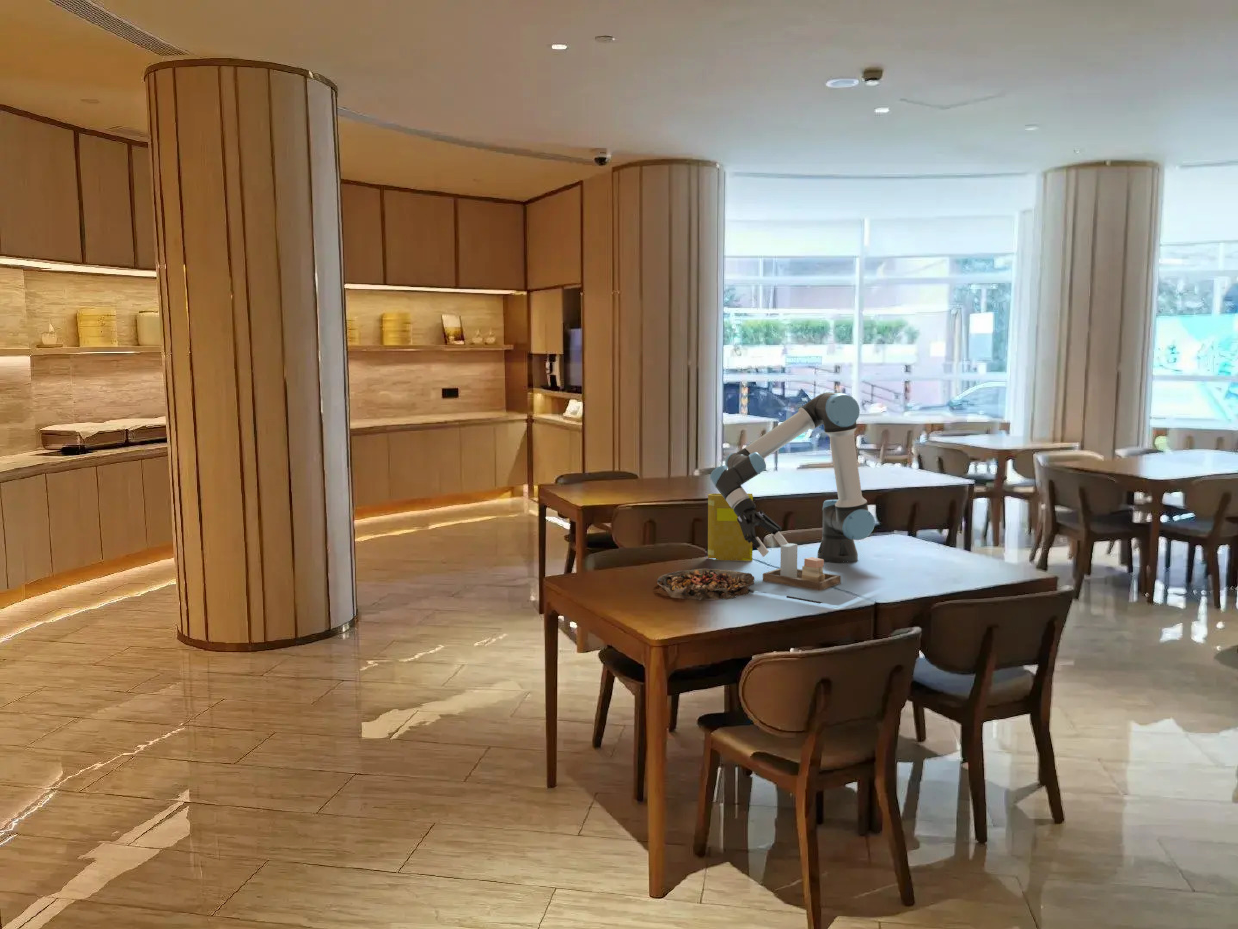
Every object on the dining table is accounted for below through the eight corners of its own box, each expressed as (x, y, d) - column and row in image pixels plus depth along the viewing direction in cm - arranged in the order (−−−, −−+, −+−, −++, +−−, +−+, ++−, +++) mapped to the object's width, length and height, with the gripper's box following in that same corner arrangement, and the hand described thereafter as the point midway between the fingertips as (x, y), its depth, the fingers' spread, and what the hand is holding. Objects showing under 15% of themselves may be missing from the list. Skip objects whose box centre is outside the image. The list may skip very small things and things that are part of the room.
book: (751, 557, 372) (752, 493, 369) (752, 561, 366) (752, 496, 363) (707, 556, 374) (708, 493, 371) (707, 560, 367) (708, 495, 364)
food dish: (697, 610, 300) (696, 586, 299) (637, 591, 327) (636, 569, 326) (780, 591, 319) (779, 568, 318) (717, 574, 346) (716, 553, 346)
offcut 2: (807, 572, 327) (807, 564, 326) (822, 574, 324) (822, 565, 323) (802, 575, 323) (802, 566, 323) (817, 577, 320) (818, 568, 320)
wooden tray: (784, 576, 339) (784, 566, 339) (840, 586, 325) (840, 575, 324) (762, 583, 329) (762, 573, 328) (819, 593, 314) (820, 583, 314)
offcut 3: (809, 580, 327) (809, 572, 327) (824, 583, 324) (824, 574, 323) (801, 583, 324) (801, 574, 323) (817, 586, 320) (817, 577, 319)
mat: (805, 590, 319) (805, 588, 319) (837, 596, 311) (838, 594, 311) (786, 597, 310) (786, 595, 310) (819, 603, 302) (819, 601, 302)
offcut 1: (812, 564, 326) (812, 557, 326) (823, 566, 322) (823, 559, 322) (804, 565, 324) (804, 558, 323) (816, 568, 320) (816, 561, 320)
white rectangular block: (789, 577, 333) (789, 543, 332) (796, 578, 331) (797, 544, 330) (780, 580, 329) (780, 545, 327) (787, 581, 327) (788, 547, 325)
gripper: (754, 506, 350) (789, 552, 342) (714, 514, 332) (749, 563, 323) (767, 493, 346) (802, 539, 338) (727, 501, 328) (763, 550, 319)
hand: (776, 551), depth 331 cm, fingers open, 13 cm apart
